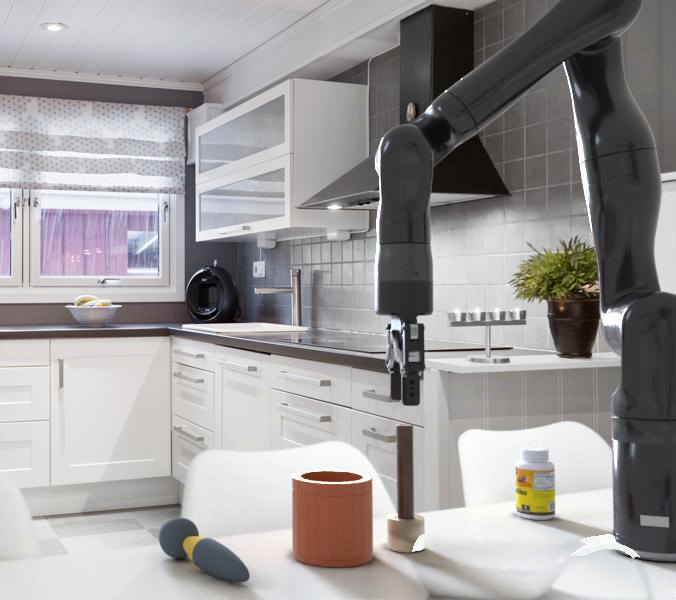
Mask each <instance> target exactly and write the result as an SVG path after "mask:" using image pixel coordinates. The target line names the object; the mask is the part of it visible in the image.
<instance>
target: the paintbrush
mask: <svg viewBox="0 0 676 600" xmlns="http://www.w3.org/2000/svg"><path fill="white" fill-rule="evenodd" d="M158 543H159V545H160V548H161V550H162V551H163V553H164V554H165V555H166V556H168V557H170V558H173V559H184V558H189V559H190V560H191V562H192V564H194V566H196V567H197V568H198V569H200V570H201V571H203V572H205V573H206V574H208V575H210V576H213V577H215V578H218V579H221V580H223V581H227V582H230V583H231V582H232V583H238V584H239V583H245V582H247V581H249V579H250V577H251V576H250V575H251V574H250V570H249V569H248V567H247V565H246V564H245V563H244V561H243V560H242V559H241V558H240V557H239V556H238V555H237V554H236V553H234V551H232V550H231V549H230V548H229V547H227V546H226V545H224V544H222V542H221V543H220V542H219V541H217V539H216V540H215V539H213V538H210V537H205V536H200V532H199V529H198V527H197V525H196V524H195V523H194V522H193V521H192V520H191V519H188V518H187V517H179V516H178V517H173V518H170V519H168V520H166V521H165V522H164V523H163V524H162V525H161V526H160V529H159V532H158Z"/></svg>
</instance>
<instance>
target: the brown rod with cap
mask: <svg viewBox="0 0 676 600" xmlns="http://www.w3.org/2000/svg"><path fill="white" fill-rule="evenodd" d="M395 434H396V435H395V447H396V449H395V452H396V453H395V456H396V458H395V459H396V512H395V513H390V514H388V515H387V516H386V538H387V539H386V545H387V548H388V550H391V551H394V552H398V553H408V554H409V553H412V550H413V546H414V543H415V542H416V540H417V539H418V537H419V536H420V535H422V534H425V533H426V532H425V531H426V528H425V525H426V524H425V516H423V515H420V514H416V513H415V476H414V475H415V466H414V465H415V462H414V461H415V460H414V458H415V457H414V454H415V453H414V425H413V424H411V423H398V424H396V425H395Z"/></svg>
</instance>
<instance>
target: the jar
mask: <svg viewBox="0 0 676 600" xmlns="http://www.w3.org/2000/svg"><path fill="white" fill-rule="evenodd" d="M373 498H374V497H373V477H372V476H371V475H370V474H367V473H366V472H361V471H357V470H356V471H355V470H344V469H310V470H304V471H298V472H295V473H294V474H292V475H291V504H292V505H291V516H292V517H291V518H292V519H291V525H292V527H291V528H292V534H291V535H292V536H291V537H292V543H291V544H292V545H291V546H292V556H293V558H294V560H296V561H298V562H300V563H303V564H306V565H310V566H315V567H324V568H349V567H358V566H362V565H365V564H368V563H370V562H371V561H372V560H373V559H374V558H373V556H374V555H373V552H374V520H373V519H374V511H373V510H374V509H373V508H374V507H373V502H374V501H373Z"/></svg>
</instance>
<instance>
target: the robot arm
mask: <svg viewBox="0 0 676 600" xmlns="http://www.w3.org/2000/svg"><path fill="white" fill-rule="evenodd" d="M643 5H644V0H557V2H556V3H555V4H554V5H553V6H552V7H551V8H550V9H549V10H547V12H546V13H545V14H544V15H543V16H542V17H540V18H539V19H537V21H536V22H534V23H533V24H532V25H530V27H529V28H527V29H526V30H525V31H524V32H523V33H521V34H520V35H519V36H518V37H516V38H515V39H514V40H512V41H511V42H509V43H508V44H507V45H505V47H503V48H502V49H500V50H499V51H497V52H496V53H495V54H493V55H492V56H490V57H489V58H488V59H486V60H485V61H484V62H482V63H481V64H479V65H478V66H476V67H475V68H474V69H473V70H471V71H470V72H468V73H467V74H466V75H464V76H463V77H462V78H461V79H459V80H458V81H456V82H455V83H454V84H453V85H451V86H450V87H448V88H447V89H446V90H445V91H443V92H442V93H441V94H440V95H439V96H437V97H436V98H435V99H434V100H433V101H432V102H431V103H430V105H429V106H427V108H426V109H425V110H424V111H423V112H422V113H421V114H420V115H419V116H417V117H416V118H415V119H413V120H412V121H411V122H409V123H405V124H399V125H397V126H394V127H392V128H391V129H390V130H388V131H387V132H386V133H384V135H383V136H382V138H381V140H380V142H379V144H378V147H377V150H376V152H375V156H374V166H375V170H376V173H377V174H378V176H379V198H380V199H379V205H378V208H377V215H376V216H377V217H376V252H375V259H374V313H375V314H376V316H385V317H386V316H387V317H388V316H389V317H390V318H391V321H390V323H386V326H385V361H384V362H385V367H387V370H388V372H389V398H390V399H391V400H393V401H401V404H402V405H403V406H406V407H417V406H419V405H420V404H421V377H422V374H423V372H425V370H426V360H425V359H426V357H425V356H426V355H425V353H426V351H425V350H426V349H425V329H426V327H425V324H424V322H420V323H419V322H418V317H422V316H423V317H424V316H431V315H432V314H433V313H434V261H433V252H432V245H431V244H432V233H431V231H432V229H431V228H432V224H431V221H432V220H431V207H430V206H431V197H432V188H433V176H434V167H435V166H437V164H439V163H440V162H441V161H443V160H444V159H445V157H447V156H448V155H449V154H450V153H452V152H453V151H454V150H455V149H456V148H457V147H459V146H460V145H462V144H464V143H465V142H467V141H468V140H470V139H471V138H473V137H474V136H476V135H477V134H479V132H480V131H482V130H484V129H485V128H486V127H488V126H489V125H490V124H491V123H493V122H494V121H496V120H497V119H498V118H500V117H501V116H502V115H503V114H504V113H506V112H507V111H508V110H509V109H511V107H513V106H514V105H515V104H516V103H518V102H519V100H521V99H522V98H523V97H524V96H525V95H526V94H528V93H529V92H530V91H531V90H532V89H533V88H534V87H535V86H536V85H538V84H539V83H540V82H541V81H542V80H543V79H544V78H546V77H547V76H548V75H549V74H551V73H552V72H553V71H554V70H555V69H557V68H558V67H559V66H561V65H563V68H564V71H565V75H566V79H567V84H568V87H569V92H570V97H571V106H572V116H573V123H574V130H575V131H574V132H575V137H576V142H577V151H578V162H579V169H580V173H581V175H580V176H581V182H582V186H583V192H584V198H585V201H586V202H585V203H586V207H587V213H588V218H589V224H590V230H591V235H592V241H593V246H594V251H595V255H596V262H597V273H598V288H599V289H598V290H599V291H598V293H599V313H600V315H599V316H600V328H601V333H602V337H603V339H604V341H605V344H606V345H607V346H608V348H609V349H610V351H611V352H612V353H613V354H615V355H616V356H617V357H619V358H620V379H619V383H618V386H617V388H616V390H615V391H614V392H612V395H611V397H610V417H611V418H610V422H611V425H610V426H611V427H610V428H611V475H612V476H611V477H612V478H611V479H612V482H611V483H612V484H611V485H612V529H613V530H612V536H613V535H614V536H615V539H616V542H618V543H620V544H622V545H625V546H627V547H629V548H631V549H633V550H634V551H635V552H636V553H637V554H638V555H639V556H640V558H639V559H640V560H641V559H642V560H649V561H657V562H676V294H675V293H672V292H668V291H662V289H661V285H660V281H659V275H658V270H657V266H656V265H657V264H656V257H655V256H656V255H655V254H656V253H655V244H656V236H657V230H658V224H659V217H660V211H661V204H662V196H663V195H662V194H663V193H662V192H663V182H662V173H661V167H660V161H659V156H658V150H657V144H656V140H655V136H654V133H653V130H652V128H651V125H650V124H649V122H648V120H647V117H646V116H645V115H644V113H643V111H642V110H641V108H640V106H639V104H638V103H637V101H636V100H635V98H634V95H633V94H632V92H631V89H630V87H629V85H628V84H629V83H628V81H627V77H626V71H625V64H624V63H625V62H624V54H623V43H622V41H623V39H622V38H623V37H622V36H623V34H624V33H625V32H626V31H627V30H628V29H629V28H630V27H631V26H632V25H633V24H634V22H635V21H636V20H637V18H638V16H639V14H640V12H641V10H642V7H643ZM615 551H616V552H618V553H620V554H622V555H625V556H628V555H627V554H626V553H625V552H623V551H620V550H615Z"/></svg>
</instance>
